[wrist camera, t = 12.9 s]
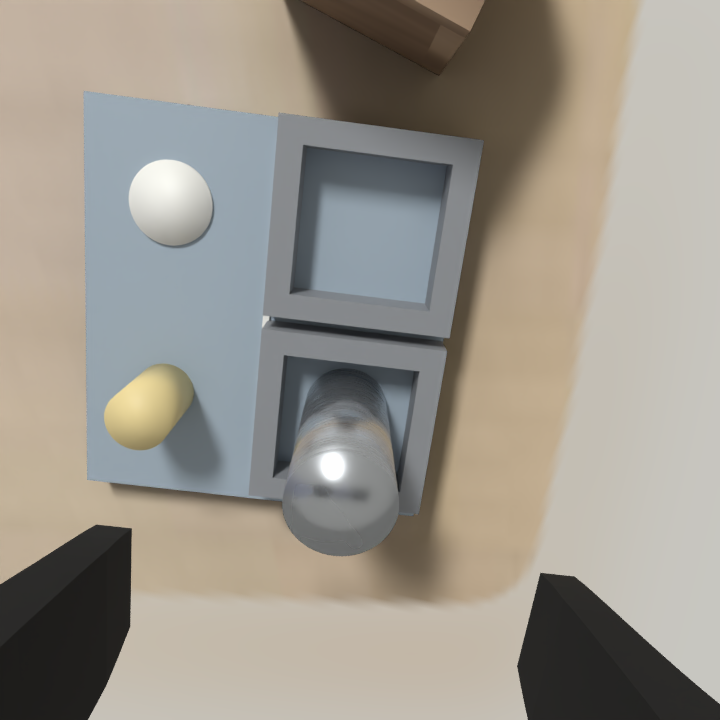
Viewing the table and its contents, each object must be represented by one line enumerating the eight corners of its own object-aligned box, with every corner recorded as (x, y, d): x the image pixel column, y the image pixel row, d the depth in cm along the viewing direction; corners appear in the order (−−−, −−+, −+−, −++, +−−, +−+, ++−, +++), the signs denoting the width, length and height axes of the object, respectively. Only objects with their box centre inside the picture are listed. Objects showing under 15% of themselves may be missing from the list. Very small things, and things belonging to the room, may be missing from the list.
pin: (308, 364, 18) (286, 447, 13) (390, 372, 18) (405, 457, 13) (302, 440, 19) (278, 550, 13) (381, 447, 19) (392, 560, 13)
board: (100, 466, 20) (48, 520, 17) (99, 96, 17) (35, 74, 14) (410, 501, 21) (420, 561, 17) (470, 145, 17) (496, 136, 14)
